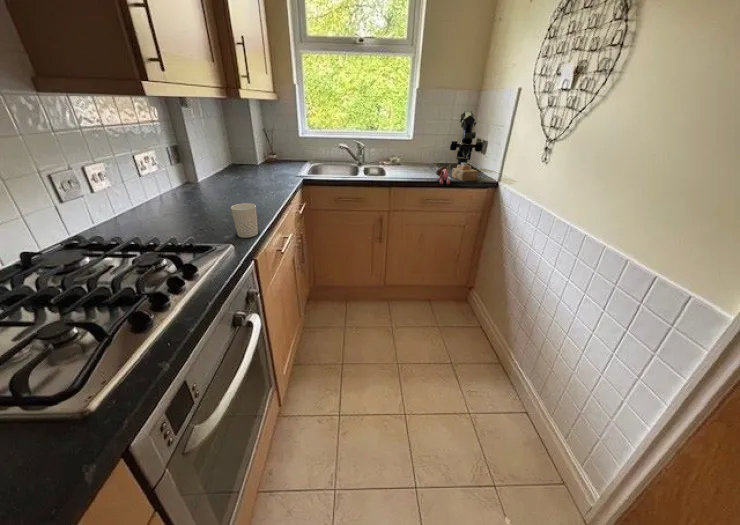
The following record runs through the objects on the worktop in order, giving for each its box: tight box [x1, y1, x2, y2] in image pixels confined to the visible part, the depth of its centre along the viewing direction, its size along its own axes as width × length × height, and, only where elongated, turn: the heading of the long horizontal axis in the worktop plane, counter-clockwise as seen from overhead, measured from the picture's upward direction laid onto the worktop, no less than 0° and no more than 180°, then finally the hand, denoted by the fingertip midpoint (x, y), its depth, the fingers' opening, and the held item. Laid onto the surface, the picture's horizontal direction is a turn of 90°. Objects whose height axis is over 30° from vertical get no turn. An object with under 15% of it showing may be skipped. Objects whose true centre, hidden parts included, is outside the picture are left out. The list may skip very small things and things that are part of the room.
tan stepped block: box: [451, 164, 479, 182], centre depth 196 cm, size 12×10×7 cm
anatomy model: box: [434, 161, 454, 185], centre depth 186 cm, size 10×14×15 cm
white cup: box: [230, 202, 259, 239], centre depth 113 cm, size 8×8×10 cm
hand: (465, 157), depth 196 cm, fingers closed
